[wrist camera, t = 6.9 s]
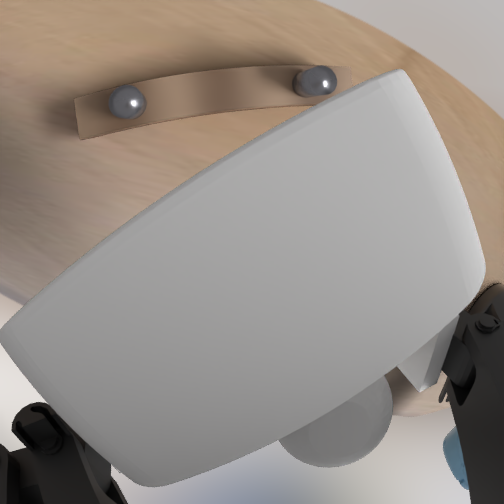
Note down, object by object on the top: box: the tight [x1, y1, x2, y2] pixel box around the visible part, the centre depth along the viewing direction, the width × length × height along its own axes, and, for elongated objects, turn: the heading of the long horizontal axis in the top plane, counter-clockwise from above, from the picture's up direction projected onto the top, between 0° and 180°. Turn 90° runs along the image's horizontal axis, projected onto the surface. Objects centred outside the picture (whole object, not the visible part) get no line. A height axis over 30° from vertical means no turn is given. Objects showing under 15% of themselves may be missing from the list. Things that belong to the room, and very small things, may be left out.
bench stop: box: [74, 65, 353, 140], centre depth 20 cm, size 20×3×7 cm, turn 96°
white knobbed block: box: [0, 69, 486, 487], centre depth 9 cm, size 8×10×10 cm
